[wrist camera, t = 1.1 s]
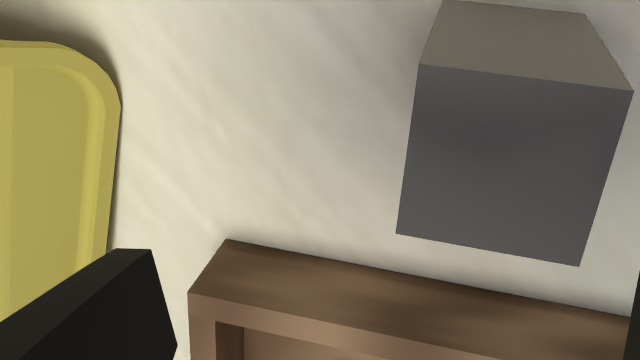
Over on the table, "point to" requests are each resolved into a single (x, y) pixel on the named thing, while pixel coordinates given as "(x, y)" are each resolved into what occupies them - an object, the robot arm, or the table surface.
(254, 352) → the walnut box
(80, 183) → the plastic component
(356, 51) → the table surface
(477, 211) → the grey rectangular block
